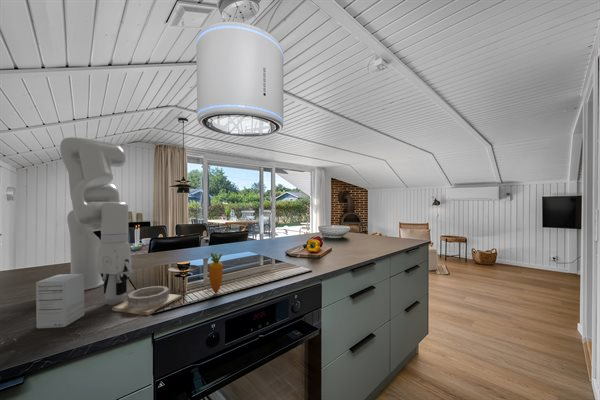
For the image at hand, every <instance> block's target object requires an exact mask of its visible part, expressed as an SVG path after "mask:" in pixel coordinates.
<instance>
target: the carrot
mask: <svg viewBox="0 0 600 400" xmlns="http://www.w3.org/2000/svg"><path fill="white" fill-rule="evenodd" d="M210 256H211V258H210V260H211V261H212V262H211V263H210V264H209V265H208V278H209V283H210V287H211V289H212V291H213V293H214V292H215V293H214V294H218V293H219V290H220V288H221V285H222V281H223V274H224V273H223V271H224V264H223V262H221V261H220V260H221V258H222V256H223V253H219V255H218V254H217V253H214V252H211V253H210Z"/></svg>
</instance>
